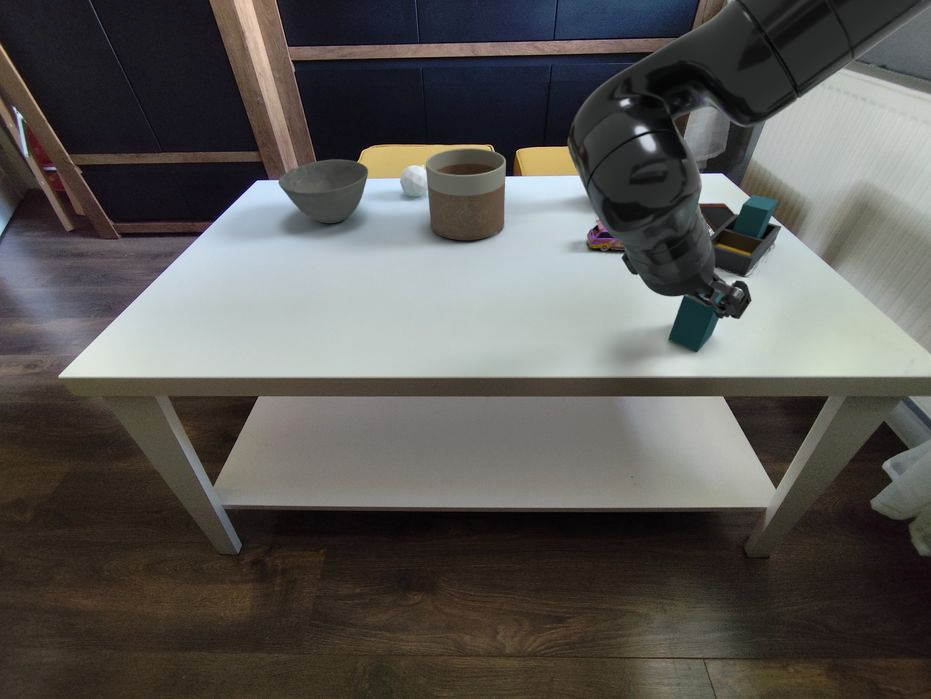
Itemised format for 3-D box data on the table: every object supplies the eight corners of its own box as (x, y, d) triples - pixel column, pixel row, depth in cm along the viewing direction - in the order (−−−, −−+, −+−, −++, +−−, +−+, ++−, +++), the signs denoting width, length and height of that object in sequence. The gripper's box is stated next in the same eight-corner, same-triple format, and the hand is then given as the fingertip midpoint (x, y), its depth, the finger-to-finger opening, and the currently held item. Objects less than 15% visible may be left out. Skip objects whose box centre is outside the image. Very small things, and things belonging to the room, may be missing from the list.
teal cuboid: (761, 239, 89) (778, 200, 84) (751, 250, 86) (768, 210, 81) (737, 233, 91) (753, 194, 86) (727, 243, 88) (742, 203, 83)
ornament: (402, 189, 114) (417, 160, 112) (425, 204, 113) (441, 175, 111) (389, 184, 108) (405, 153, 105) (414, 201, 107) (430, 169, 104)
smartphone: (725, 202, 103) (753, 233, 91) (723, 206, 103) (752, 237, 92) (693, 202, 103) (718, 233, 92) (692, 206, 104) (716, 237, 92)
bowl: (333, 195, 113) (323, 154, 106) (391, 211, 105) (385, 167, 98) (273, 225, 101) (258, 180, 95) (333, 245, 93) (322, 198, 87)
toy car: (652, 253, 87) (658, 231, 84) (589, 252, 88) (592, 230, 85) (645, 239, 92) (651, 218, 89) (585, 238, 93) (589, 217, 90)
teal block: (712, 334, 69) (731, 290, 64) (696, 352, 66) (715, 308, 61) (683, 322, 71) (699, 279, 66) (667, 339, 68) (683, 295, 63)
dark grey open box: (773, 243, 89) (781, 226, 87) (744, 276, 80) (752, 259, 78) (728, 230, 94) (735, 213, 91) (696, 260, 85) (702, 243, 83)
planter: (427, 213, 103) (422, 151, 94) (495, 207, 105) (496, 145, 96) (435, 246, 92) (430, 179, 83) (511, 238, 93) (514, 171, 84)
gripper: (764, 239, 41) (765, 294, 54) (628, 195, 49) (658, 252, 63) (717, 310, 42) (729, 347, 55) (591, 255, 50) (628, 299, 64)
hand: (691, 297), depth 59 cm, fingers open, 8 cm apart
